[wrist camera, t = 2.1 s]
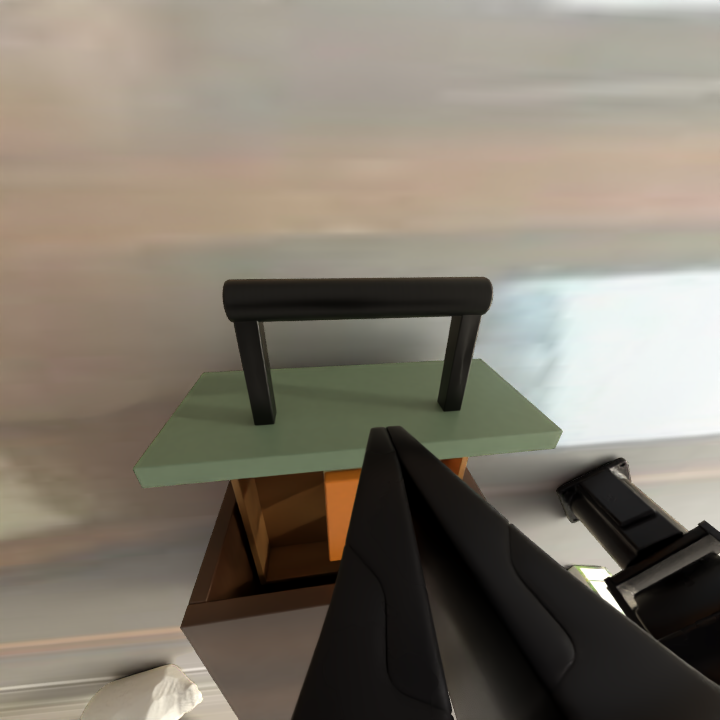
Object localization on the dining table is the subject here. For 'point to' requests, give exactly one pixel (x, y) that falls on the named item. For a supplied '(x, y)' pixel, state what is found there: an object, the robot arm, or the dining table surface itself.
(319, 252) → the dining table surface
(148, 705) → the roll
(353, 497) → the snack box
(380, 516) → the robot arm
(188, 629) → the organizer
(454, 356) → the drawer
